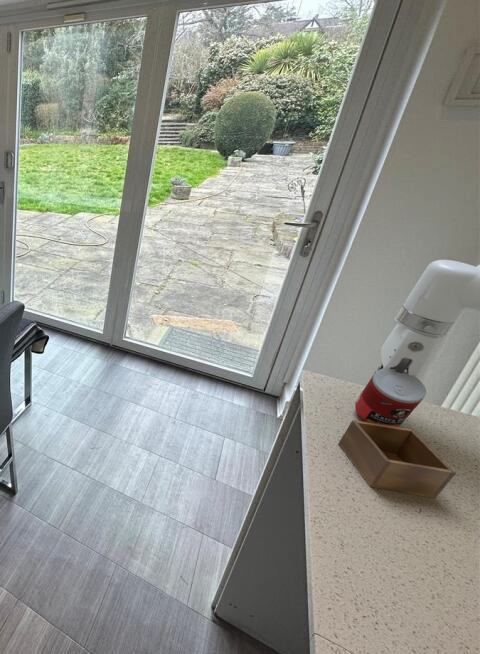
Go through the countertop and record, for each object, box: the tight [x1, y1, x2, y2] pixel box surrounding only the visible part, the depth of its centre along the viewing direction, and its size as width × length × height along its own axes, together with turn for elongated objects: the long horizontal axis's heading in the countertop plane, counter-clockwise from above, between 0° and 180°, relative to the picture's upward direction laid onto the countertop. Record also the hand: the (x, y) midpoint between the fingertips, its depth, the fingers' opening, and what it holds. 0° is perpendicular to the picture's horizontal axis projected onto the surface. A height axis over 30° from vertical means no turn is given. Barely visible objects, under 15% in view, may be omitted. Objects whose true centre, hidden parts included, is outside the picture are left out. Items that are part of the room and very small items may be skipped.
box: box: [338, 420, 457, 499], centre depth 75 cm, size 10×10×6 cm
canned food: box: [354, 368, 427, 427], centre depth 85 cm, size 8×8×11 cm
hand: (376, 390), depth 90 cm, fingers closed
